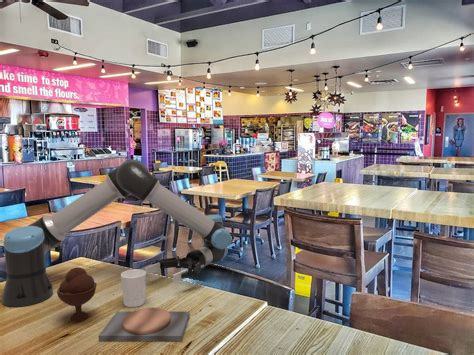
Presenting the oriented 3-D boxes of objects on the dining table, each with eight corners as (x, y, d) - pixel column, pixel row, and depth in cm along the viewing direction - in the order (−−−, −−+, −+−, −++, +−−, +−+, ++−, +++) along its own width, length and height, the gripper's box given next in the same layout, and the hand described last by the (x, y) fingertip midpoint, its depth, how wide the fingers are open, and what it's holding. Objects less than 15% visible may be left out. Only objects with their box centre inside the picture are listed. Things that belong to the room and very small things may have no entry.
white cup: (140, 309, 117) (139, 278, 116) (117, 307, 118) (116, 276, 117) (150, 298, 125) (149, 269, 124) (129, 297, 126) (128, 268, 125)
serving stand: (98, 341, 98) (98, 330, 98) (117, 316, 112) (116, 306, 112) (181, 341, 98) (181, 330, 98) (189, 316, 112) (189, 306, 112)
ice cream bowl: (50, 323, 108) (47, 273, 107) (78, 307, 119) (76, 261, 117) (79, 329, 105) (76, 277, 103) (105, 312, 115) (103, 265, 114)
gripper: (224, 273, 141) (186, 293, 123) (176, 262, 155) (135, 278, 138) (223, 254, 140) (185, 271, 123) (175, 244, 154) (135, 258, 137)
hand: (159, 275), depth 130 cm, fingers open, 13 cm apart
